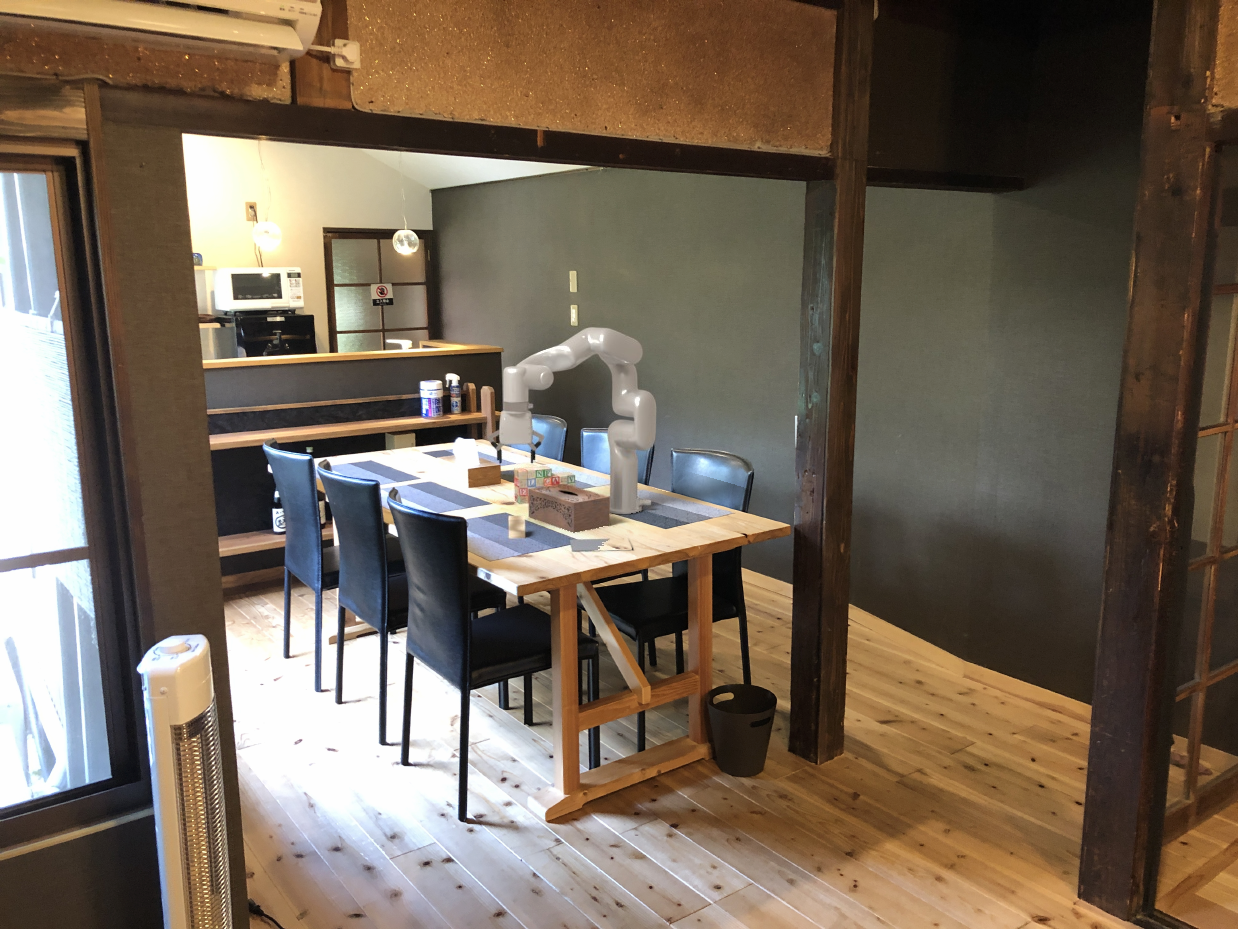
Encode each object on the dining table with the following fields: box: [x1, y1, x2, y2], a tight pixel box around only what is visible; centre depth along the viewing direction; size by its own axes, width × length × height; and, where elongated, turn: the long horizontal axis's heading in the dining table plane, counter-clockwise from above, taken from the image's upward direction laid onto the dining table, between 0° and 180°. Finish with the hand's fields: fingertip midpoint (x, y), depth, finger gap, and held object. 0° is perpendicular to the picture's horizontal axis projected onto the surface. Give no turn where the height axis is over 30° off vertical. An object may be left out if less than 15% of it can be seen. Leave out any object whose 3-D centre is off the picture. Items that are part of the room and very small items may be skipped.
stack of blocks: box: [513, 465, 576, 505], centre depth 340 cm, size 21×6×12 cm, turn 113°
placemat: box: [569, 538, 609, 552], centre depth 282 cm, size 18×12×1 cm, turn 96°
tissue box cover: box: [528, 484, 611, 534], centre depth 310 cm, size 26×14×10 cm, turn 39°
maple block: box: [508, 515, 526, 539], centre depth 291 cm, size 5×5×6 cm
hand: (516, 462), depth 289 cm, fingers open, 9 cm apart
